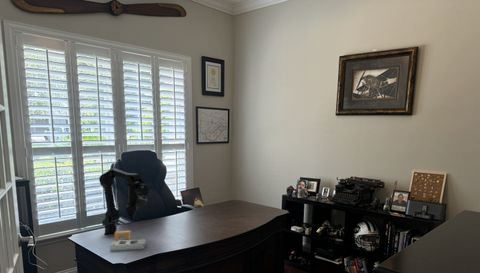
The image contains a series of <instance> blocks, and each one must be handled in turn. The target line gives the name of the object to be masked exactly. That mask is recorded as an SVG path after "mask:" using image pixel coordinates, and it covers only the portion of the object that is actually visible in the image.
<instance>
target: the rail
mask: <svg viewBox="0 0 480 273" xmlns="http://www.w3.org/2000/svg"><path fill="white" fill-rule="evenodd" d="M145 246H146V239H145V238H143V239H130V240H126V239H125V240H119V241H115V240H113V241H112V242H111V244H110V245H109V252H115V251H130V250H131V251H133V250H134V251H135V250H144V249H145Z"/></svg>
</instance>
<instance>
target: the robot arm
mask: <svg viewBox="0 0 480 273" xmlns="http://www.w3.org/2000/svg"><path fill="white" fill-rule="evenodd" d="M116 177H117V178H120V179H122V180H124V181H125V182H126V183H127V184H126V185H125V186H126V187H128V195H127V199H128V201H127V206H126V207H125V211H126V213H127V215H128V218H129V219H130V221H131V222H133V221H134V218H135V215H136V213H137V211H138V208H139V206H140V205H142V206H146V205H147V202H148V198H147V195H148V194H149V191H150V189H149V187H148V186H147V184H146V183H145V184H144V182H143V180H142V178H141V176H140V174H139V173H136V172H133V173H131V172H130V173H129V172H126V171H123V170H121V169H119V168H111V169H109V170H107V171H106V172H104V173H103V174H100V176H99V180H98V181H99V184H100V186H101V187H102V188H103V191H104V197H105V204H106V212H105V213H104V214H105V217H104V219H103V220H102V221H101V224H102V226H104V234H103V235H104V236H107V235H108V236H109V235H110V236H111V235H115V232H116V231H118V225H117V224H119V222H120V218H121V217H120V216H121V213H120V209H117V208H116V204H115V198H114V192H113V190H114V189H113V185H114V183H115V182H114V180H115V179H116Z"/></svg>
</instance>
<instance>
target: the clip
mask: <svg viewBox="0 0 480 273" xmlns="http://www.w3.org/2000/svg"><path fill="white" fill-rule="evenodd" d="M120 237H125V240H131V239H130V238H131V230H117V231H116V232H115V234H114V241H120Z"/></svg>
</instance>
